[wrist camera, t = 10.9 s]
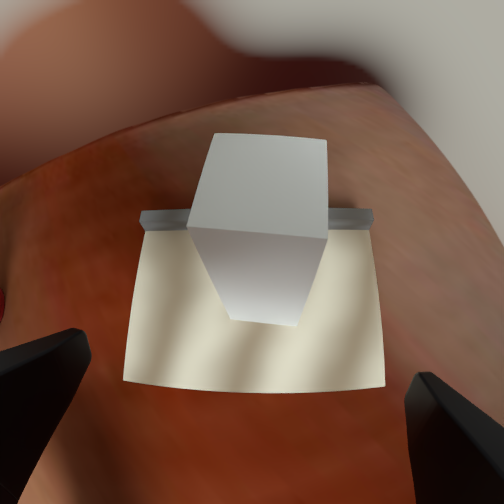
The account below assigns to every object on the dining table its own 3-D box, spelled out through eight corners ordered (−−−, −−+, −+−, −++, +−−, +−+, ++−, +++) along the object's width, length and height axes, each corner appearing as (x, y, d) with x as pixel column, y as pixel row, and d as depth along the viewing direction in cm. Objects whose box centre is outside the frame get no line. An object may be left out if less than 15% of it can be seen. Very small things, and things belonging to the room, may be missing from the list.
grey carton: (296, 326, 20) (328, 239, 9) (230, 319, 20) (186, 226, 10) (302, 261, 22) (326, 135, 11) (240, 255, 23) (216, 128, 12)
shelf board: (129, 381, 20) (113, 378, 17) (152, 224, 26) (142, 207, 23) (380, 387, 18) (393, 385, 16) (363, 222, 24) (370, 205, 22)
